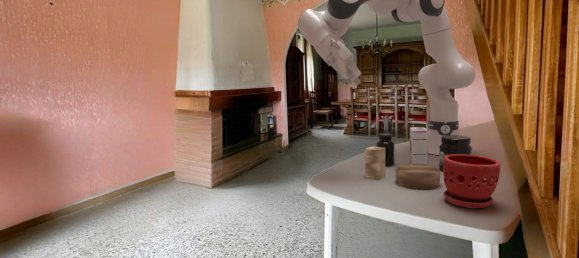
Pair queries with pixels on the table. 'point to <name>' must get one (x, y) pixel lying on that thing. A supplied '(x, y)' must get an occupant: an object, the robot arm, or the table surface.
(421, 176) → the walnut plinth
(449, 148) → the supplement container
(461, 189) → the plant pot
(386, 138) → the supplement bottle
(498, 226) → the table surface
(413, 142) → the syrup box
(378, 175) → the ash block
